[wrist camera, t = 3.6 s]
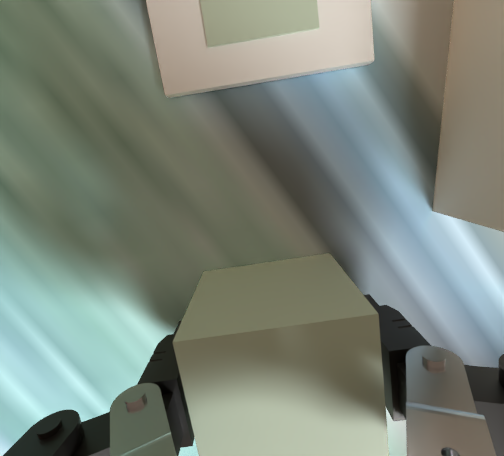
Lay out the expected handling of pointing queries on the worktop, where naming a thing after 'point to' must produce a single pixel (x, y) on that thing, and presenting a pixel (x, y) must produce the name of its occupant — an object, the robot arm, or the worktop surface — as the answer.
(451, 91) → the base block
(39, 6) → the worktop surface
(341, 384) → the sage cube
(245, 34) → the card
